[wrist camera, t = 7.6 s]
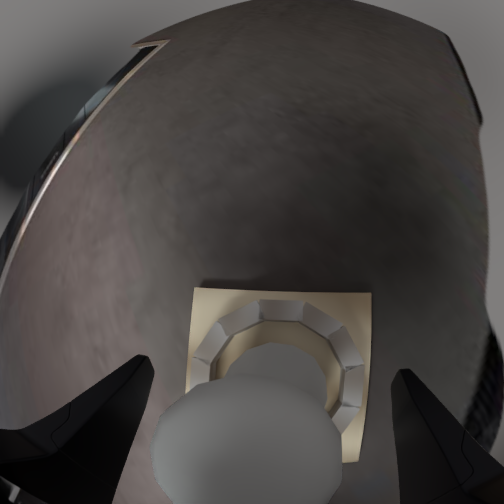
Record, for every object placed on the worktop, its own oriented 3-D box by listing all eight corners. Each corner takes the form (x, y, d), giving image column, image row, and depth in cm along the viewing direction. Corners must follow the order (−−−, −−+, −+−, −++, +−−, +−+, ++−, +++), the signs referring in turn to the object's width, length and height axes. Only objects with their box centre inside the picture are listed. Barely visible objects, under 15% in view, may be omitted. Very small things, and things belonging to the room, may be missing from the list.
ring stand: (355, 457, 14) (363, 469, 12) (187, 446, 16) (175, 457, 13) (367, 294, 18) (377, 288, 15) (198, 289, 19) (187, 282, 17)
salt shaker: (306, 330, 17) (347, 295, 5) (333, 410, 15) (409, 525, 2) (220, 358, 17) (77, 371, 5) (246, 436, 15) (164, 563, 3)
